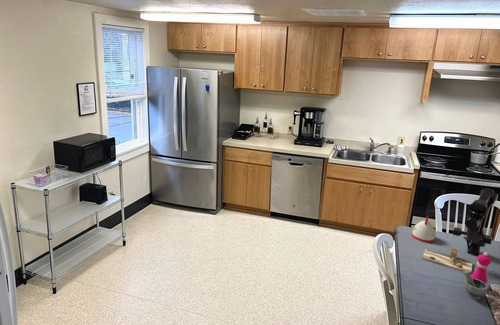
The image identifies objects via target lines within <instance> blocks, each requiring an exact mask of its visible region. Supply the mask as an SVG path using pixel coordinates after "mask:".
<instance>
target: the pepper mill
mask: <svg viewBox="0 0 500 325" xmlns="http://www.w3.org/2000/svg"><path fill="white" fill-rule="evenodd" d="M476 260H477V263H476V265H477V266H476V270H474V272H473V273H471V277H472V278H475V279H478V280H481V281H482V282H484V283H486V284H488V275H487V270H488V269H489V266H490V264H491V263H492V258H491V257H490V255H489V253H488V252H487V251H486V252H483V253H482V254H480V255H479V256H477V258H476Z"/></svg>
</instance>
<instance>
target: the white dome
mask: <svg viewBox="0 0 500 325" xmlns="http://www.w3.org/2000/svg"><path fill="white" fill-rule="evenodd" d="M436 234H437V233H436V229H435V228H434V226H433V224H432V223H431V222H430V221H429V215H426V217H425V220H421V221H419V222H418V223H417V224H416V223H415V225H414V226H413V229H412V232H411V237H412V238H413V239H415V240H416V241H419V242H422V243H434V242H435V240H436V236H437V235H436Z"/></svg>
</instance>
